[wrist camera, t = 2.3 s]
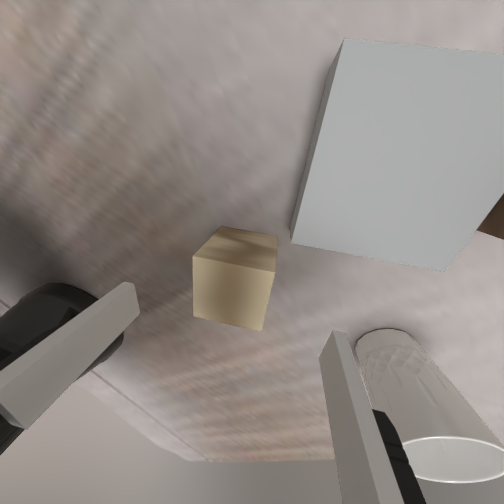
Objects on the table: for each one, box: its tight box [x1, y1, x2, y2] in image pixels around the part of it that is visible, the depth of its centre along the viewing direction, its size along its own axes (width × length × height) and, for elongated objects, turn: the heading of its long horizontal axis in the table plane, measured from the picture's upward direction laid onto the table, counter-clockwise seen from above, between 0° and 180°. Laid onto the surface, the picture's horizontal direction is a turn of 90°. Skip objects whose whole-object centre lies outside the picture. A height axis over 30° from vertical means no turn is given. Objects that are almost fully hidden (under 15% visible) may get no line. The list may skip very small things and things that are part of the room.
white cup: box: [355, 329, 504, 483], centre depth 19 cm, size 8×8×10 cm
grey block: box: [290, 38, 504, 272], centre depth 14 cm, size 12×12×4 cm
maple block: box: [193, 226, 278, 331], centre depth 17 cm, size 6×6×7 cm
